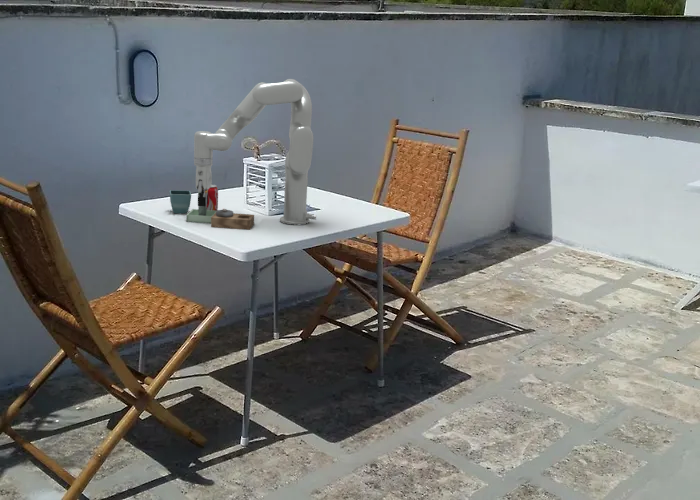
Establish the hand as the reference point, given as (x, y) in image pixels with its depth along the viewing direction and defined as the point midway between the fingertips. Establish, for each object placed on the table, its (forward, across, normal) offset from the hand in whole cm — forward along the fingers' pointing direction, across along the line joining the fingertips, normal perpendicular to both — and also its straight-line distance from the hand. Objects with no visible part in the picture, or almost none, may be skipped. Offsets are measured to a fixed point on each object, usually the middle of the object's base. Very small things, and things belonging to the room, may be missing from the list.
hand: (202, 204), depth 336 cm
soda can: (+7, +14, 0) cm, 16 cm away
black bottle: (+5, 0, 0) cm, 5 cm away
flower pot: (+7, +10, +12) cm, 17 cm away
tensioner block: (+7, -6, -14) cm, 17 cm away
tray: (+7, 0, 0) cm, 7 cm away
